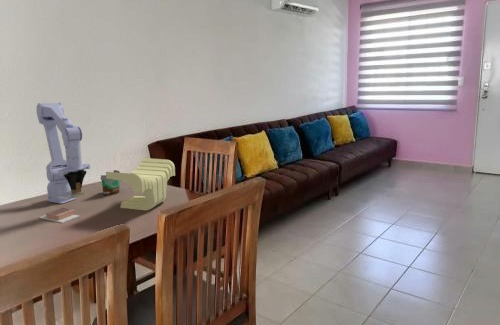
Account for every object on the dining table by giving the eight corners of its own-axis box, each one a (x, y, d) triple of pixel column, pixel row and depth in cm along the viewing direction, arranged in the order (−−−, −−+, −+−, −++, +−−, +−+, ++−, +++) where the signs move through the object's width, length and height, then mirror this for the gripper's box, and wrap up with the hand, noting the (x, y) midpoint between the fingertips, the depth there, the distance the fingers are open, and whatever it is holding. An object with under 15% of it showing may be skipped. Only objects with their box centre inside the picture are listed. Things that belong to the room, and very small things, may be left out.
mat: (38, 217, 156) (38, 217, 156) (56, 211, 163) (56, 211, 163) (62, 223, 151) (62, 222, 151) (79, 216, 158) (79, 215, 158)
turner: (73, 192, 167) (72, 180, 165) (84, 194, 164) (82, 182, 163) (57, 197, 159) (56, 186, 158) (68, 199, 157) (67, 187, 156)
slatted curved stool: (143, 217, 158) (141, 174, 154) (108, 213, 162) (105, 171, 158) (175, 196, 186) (174, 160, 183) (145, 194, 190) (143, 158, 187)
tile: (62, 211, 163) (46, 217, 156) (62, 207, 162) (45, 213, 155) (75, 214, 160) (59, 220, 153) (75, 210, 160) (58, 216, 153)
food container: (113, 196, 185) (112, 176, 183) (101, 196, 186) (100, 175, 184) (126, 189, 197) (125, 170, 195) (115, 189, 198) (114, 169, 196)
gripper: (66, 160, 153) (69, 194, 156) (94, 154, 166) (96, 185, 169) (53, 159, 156) (56, 192, 158) (82, 153, 169) (84, 183, 171)
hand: (76, 188), depth 164 cm, fingers closed on turner, 2 cm apart
